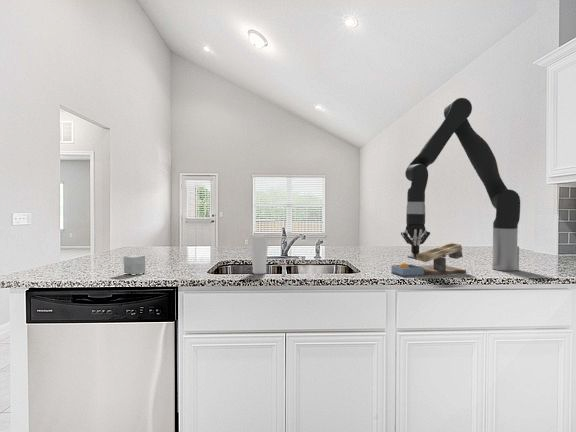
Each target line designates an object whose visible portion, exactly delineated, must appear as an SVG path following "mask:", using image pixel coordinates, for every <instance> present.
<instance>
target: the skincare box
mask: <svg viewBox="0 0 576 432" xmlns="http://www.w3.org/2000/svg"><path fill="white" fill-rule="evenodd" d="M146 272H147V271H146V256H145V255H140V254H139V255H138V254H132V255H125V256H123V274H124V273H127V274H140V273H145V274H146Z"/></svg>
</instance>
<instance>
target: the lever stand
mask: <svg viewBox="0 0 576 432" xmlns="http://www.w3.org/2000/svg"><path fill="white" fill-rule="evenodd" d="M419 266H420V267H423V268H424V275H423V276H430V275H432V276H433V275H449V274H448V273H452V274H466V273H467V270H466V269H463V268H458V267H454V266H450V265H447V258H446V257H445V258H443V257H440V258H437V259H434V260H433V264H431V265H430V264H429V265H419Z"/></svg>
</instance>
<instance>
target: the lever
mask: <svg viewBox="0 0 576 432" xmlns="http://www.w3.org/2000/svg"><path fill="white" fill-rule="evenodd" d="M462 250H463V245H462V244H461V243H454V242H450V243H447V244H444V245H441V246H437V247H435V248H433V249H432V248H431V249H428V250H426V251H423V252H419V253H418V254H416V255H414V254H409V255H407V258H408V259H412V260H416V261H420V262H425V263H427V262H430V261H434V259H437V258H440V257H442V258H446V257H447V256H448V258H450V259H454V260H458V259H460V258H464V256H463V255H464V254H463V251H462Z"/></svg>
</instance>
